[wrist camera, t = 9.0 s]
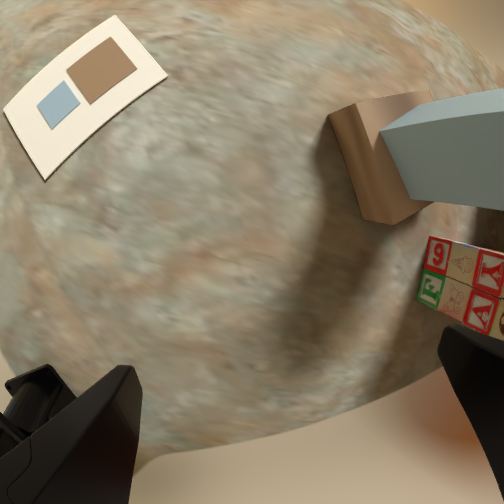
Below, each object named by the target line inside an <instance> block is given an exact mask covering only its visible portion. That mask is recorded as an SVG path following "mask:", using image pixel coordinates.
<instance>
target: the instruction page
mask: <svg viewBox="0 0 504 504" xmlns="http://www.w3.org/2000/svg"><path fill="white" fill-rule="evenodd" d="M167 77H168V75H167V74H166V73H165V72H164V71H163V69H162V68H161V67H160V66H159V65H158V63H157V62H156V61H155V60H154V59H153V58H152V56H151V55H150V54H149V53H148V52H147V50H146V49H145V48H144V47H143V46H142V45H141V44H140V42H139V41H138V40H137V39H136V38H135V37H134V36H133V34H132V33H131V32H130V31H129V30H128V29H127V28H126V26H125V25H124V24H123V23H122V22H121V21H120V20H119V19H118V18H117V16H116V15H114V16H112V17H111V18H109V19H107V20H106V21H104V22H103V23H101V24H100V25H98V26H97V27H95V28H94V29H92V30H91V31H90V32H88V33H87V34H85V35H84V36H83V37H81V38H80V39H79V40H77V41H76V42H75V43H73V44H72V45H71V46H69V47H68V48H67V49H66V50H64V51H63V52H62V53H61V54H59V55H58V56H57V57H56V58H55V59H54V60H52V61H51V62H50V63H49V64H48V65H47V66H46V67H44V68H43V69H42V70H41V71H40V72H39V73H38V74H37V75H36V76H35V77H34V78H33V79H31V80H30V81H29V82H28V83H27V84H26V85H25V86H24V87H23V88H22V89H21V90H20V91H19V93H18V94H17V95H16V96H15V97H14V98H13V99H12V100H11V101H10V102H9V103H8V104H7V105H6V107H5V108H4V109H3V110H4V112H5V114H6V116H7V118H8V120H9V121H10V123H11V125H12V127H13V129H14V130H15V132H16V134H17V136H18V137H19V139H20V141H21V143H22V144H23V146H24V148H25V149H26V151H27V153H28V154H29V156H30V157H31V159H32V161H33V162H34V164H35V165H36V167H37V169H38V170H39V172H40V173H41V175H42V176H43V178H44V179H45V180H46V179H47V178H48V177H49V176H50V175H51V174H52V173H53V172H54V171H55V170H56V169H57V168H58V167H59V166H60V165H61V164H62V163H63V162H64V161H65V160H66V159H67V158H68V157H69V156H70V155H71V154H72V153H73V152H74V151H75V150H76V149H77V148H78V147H79V146H80V145H81V144H82V143H83V142H84V141H85V140H87V139H88V138H89V137H90V136H91V135H92V134H93V133H94V132H96V131H97V130H98V129H99V128H100V127H101V126H102V125H104V124H105V123H106V122H107V121H108V120H110V119H111V118H112V117H113V116H115V115H116V114H117V113H118V112H120V111H121V110H122V109H123V108H125V107H126V106H127V105H129V104H130V103H131V102H133V101H134V100H135V99H137V98H138V97H139V96H141V95H142V94H143V93H145V92H146V91H148V90H149V89H150V88H152V87H153V86H155V85H156V84H158V83H159V82H161V81H162V80H164V79H165V78H167Z"/></svg>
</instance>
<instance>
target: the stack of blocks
mask: <svg viewBox="0 0 504 504" xmlns="http://www.w3.org/2000/svg"><path fill="white" fill-rule="evenodd" d="M416 300H418V301H420V302H422V303H423V304H425V305H427V306H429V307H431V308H433V309H434V310H437V311H441V312H443V313H444V314H446V315H448V316H450V317H452V318H454V319H456V320H458V321H460V322H462V323H463V324H464V325H465V326H467V327H469V328H471V329H473V330H475V331H477V332H480V333H483V334H486V335H488V336H491V337H494V338H497V339H500V340H503V341H504V252H501V251H496V250H493V249H488V248H481V247H477V246H473V245H469V244H466V243H462V242H458V241H453V240H449V239H445V238H440V237H435V236H430V237H429V242H428V248H427V253H426V258H425V263H424V270H423V274H422V279H421V283H420V287H419V291H418V295H417V299H416Z"/></svg>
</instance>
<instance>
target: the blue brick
mask: <svg viewBox="0 0 504 504" xmlns="http://www.w3.org/2000/svg"><path fill="white" fill-rule="evenodd" d="M379 132H380V134H381V136H382V138H383V140H384V142H385V144H386V146H387V148H388V150H389V152H390V154H391V156H392V158H393V160H394V162H395V165H396V167H397V169H398V171H399V173H400V176H401V178H402V180H403V182H404V185H405V187H406V189H407V192H408V194H409V197H410V199H414V200H425V201H434V202H443V203H452V204H460V205H468V206H475V207H482V208H489V209H496V210H502V211H504V88H501V89H495V90H488V91H482V92H477V93H471V94H466V95H461V96H456V97H451V98H446V99H442V100H437V101H433V102H429V103H425V104H421V105H418V106H417V107H415V108H414V109H412V110H411V111H409V112H407V113H406V114H404V115H403V116H401V117H400V118H398V119H397V120H395V121H394V122H392V123H391V124H389V125H388V126H386V127H385V128H383V129H382V130H380V131H379Z"/></svg>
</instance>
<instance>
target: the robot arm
mask: <svg viewBox="0 0 504 504" xmlns="http://www.w3.org/2000/svg"><path fill="white" fill-rule="evenodd" d="M437 352H438V356H439V358H440V360H441V363H442V365H443V367H444V369H445V371H446V374H447V376H448V378H449V381H450V383H451V385H452V387H453V390H454V392H455V394H456V396H457V398H458V399H459V401H460V403H461V405H462V407H463V409H464V411H465V413H466V415H467V416H468V418H469V420H470V422H471V424H472V427H473V429H474V430H475V433H476V435H477V437H478V439H479V441H480V443H481V445H482V447H483V450H484V452H485V454H486V456H487V459H488V461H489V464H490V466H491V468H492V471H493V473H494V476H495V478H496V481H497V483H498V487H499V489H500V492H501V495H502V498H503V501H504V341H503V340H500V339H497V338H494V337H491V336H488V335H486V334H483V333H480V332H477V331H474V330H471V329H468V328H466V327H463V326H460V325H457V324H454V325H450V326H447V327H445V329H444V330H443V333H442V336H441V339H440V342H439V345H438V349H437ZM47 370H49V371H50V372H48V371H47ZM5 387H6V389H7V390H8V392H9V393H10V394H11V396H12V397H13V398H12V399H11V401H10V403H9V405H8V406H7V408H6V410H5V411H4V413H3V414H2V413H1V412H0V504H128V502H129V496H130V489H131V483H132V477H133V471H134V465H135V459H136V454H137V448H138V442H139V431H140V417H141V406H142V395H143V393H142V387H141V384H140V382H139V379H138V376H137V374H136V371H135V369H134V367H133V366H131V365H118V366H116V367H115V368H114V369H112V370H111V371H110V372H109V373H108V374H106V375H105V376H104V377H103V378H101V379H100V380H99V381H98V382H96V383H95V384H94V385H93V386H91V387H90V388H89V389H88V390H86V391H85V392H84V393H83V394H82V395H80V396H79V397H78V398H76V396H75V395H74V394H73V393H72V391H71V390H70V389H69V388H68V386H67V385H66V384H65V383H64V381H63V380H62V379H61V377H60V376H59V375H58V373H57V372H56V371H55V369H54V368H53V367H52V366H51V365H49V364H45V365H43V366H41V367H38V368H36V369H34V370H31V371H29V372H27V373H24V374H22V375H20V376H17V377H15V378H12V379H10V380H8V381H7V382H6V383H5Z"/></svg>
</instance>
